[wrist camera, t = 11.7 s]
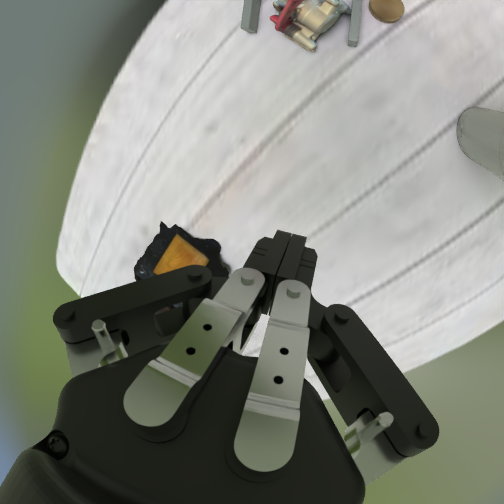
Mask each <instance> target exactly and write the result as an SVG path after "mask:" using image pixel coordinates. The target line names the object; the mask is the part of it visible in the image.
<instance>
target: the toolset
mask: <svg viewBox="0 0 504 504" xmlns="http://www.w3.org/2000/svg"><path fill="white" fill-rule="evenodd" d="M220 249H221V247H220V245H219V243H218V242H217V241H216V240H214V239H205V240H202V239H201V240H199V239H192V238H191V237H190V236H188V234H187V233H185V232H184V231H183V230H182V229H181V228H180V227H177V225H176V224H175V225H174V226H172V227H171V228H168V227H167V226H166V225H165V224H164V223H163V222H162V221H161V223H160V233H159V234H157V235H156V236H155V237H154V240H153V242H152V243H151V244H150V245H149V246H148V247H147V249H146V251H145V254H144V255H143V256H142V258H141V257H140V259H139V260H138V261H137V264H136V265H135V267H134V273H135V279H136V281H139V280H142V279H146V278H149V277H152V276H155V275H159V274H162V273H165V272H169V271H172V270H175V269H179V268H182V267H185V266H188V265H202V266H205V267H207V268H208V269H209V270H210V271H211V273H212V277H228V275H229V274H228V271H227V269H226V268H224V267H222V266H221V265H220V261H219V259H218V254H219V252H220ZM179 306H182V305H181V302H180V303H177V304H174V305H172V306H169V307H166V308H163V309H160V310H158V311H157V312H156V313H155V315H156V314H159V313H162V312H165V311H168V310H171V309H174V308H177V307H179Z"/></svg>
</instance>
